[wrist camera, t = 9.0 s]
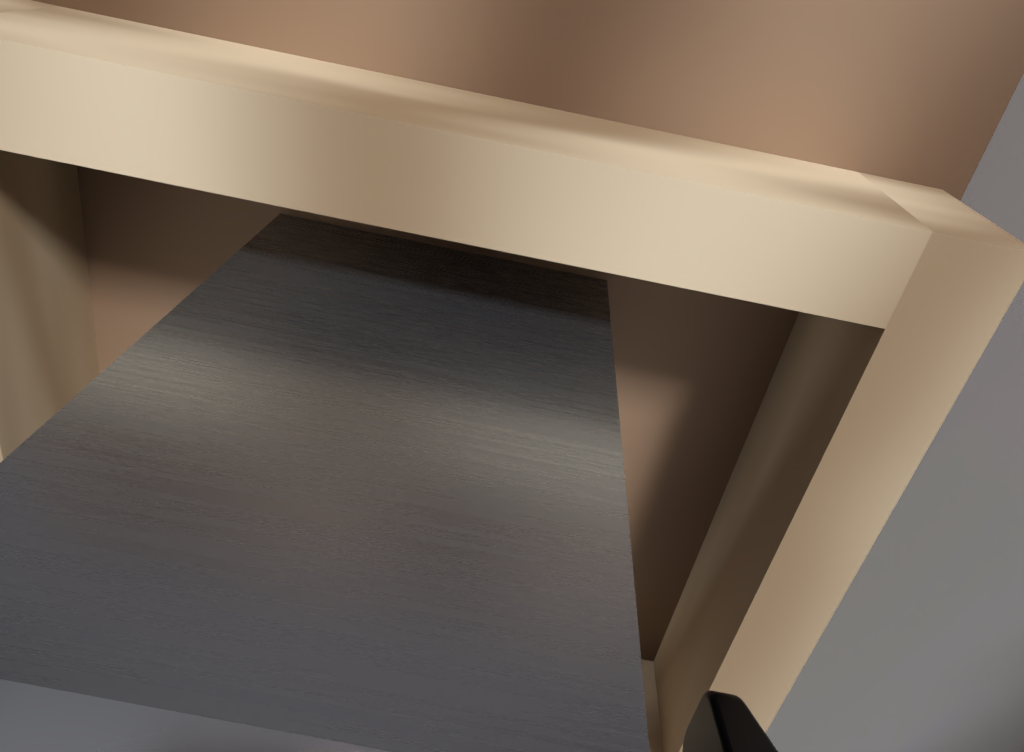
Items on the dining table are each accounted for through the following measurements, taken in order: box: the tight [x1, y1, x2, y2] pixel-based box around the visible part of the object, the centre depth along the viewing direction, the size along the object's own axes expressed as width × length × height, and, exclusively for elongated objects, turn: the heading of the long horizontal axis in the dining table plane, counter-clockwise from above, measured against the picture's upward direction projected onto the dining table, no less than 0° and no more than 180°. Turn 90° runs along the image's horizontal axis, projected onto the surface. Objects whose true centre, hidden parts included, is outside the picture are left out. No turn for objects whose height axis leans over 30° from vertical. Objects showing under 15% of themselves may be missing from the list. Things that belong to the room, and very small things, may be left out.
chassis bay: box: [0, 0, 1024, 752], centre depth 12 cm, size 14×22×4 cm, turn 169°
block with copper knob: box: [0, 213, 650, 752], centre depth 9 cm, size 5×7×9 cm
